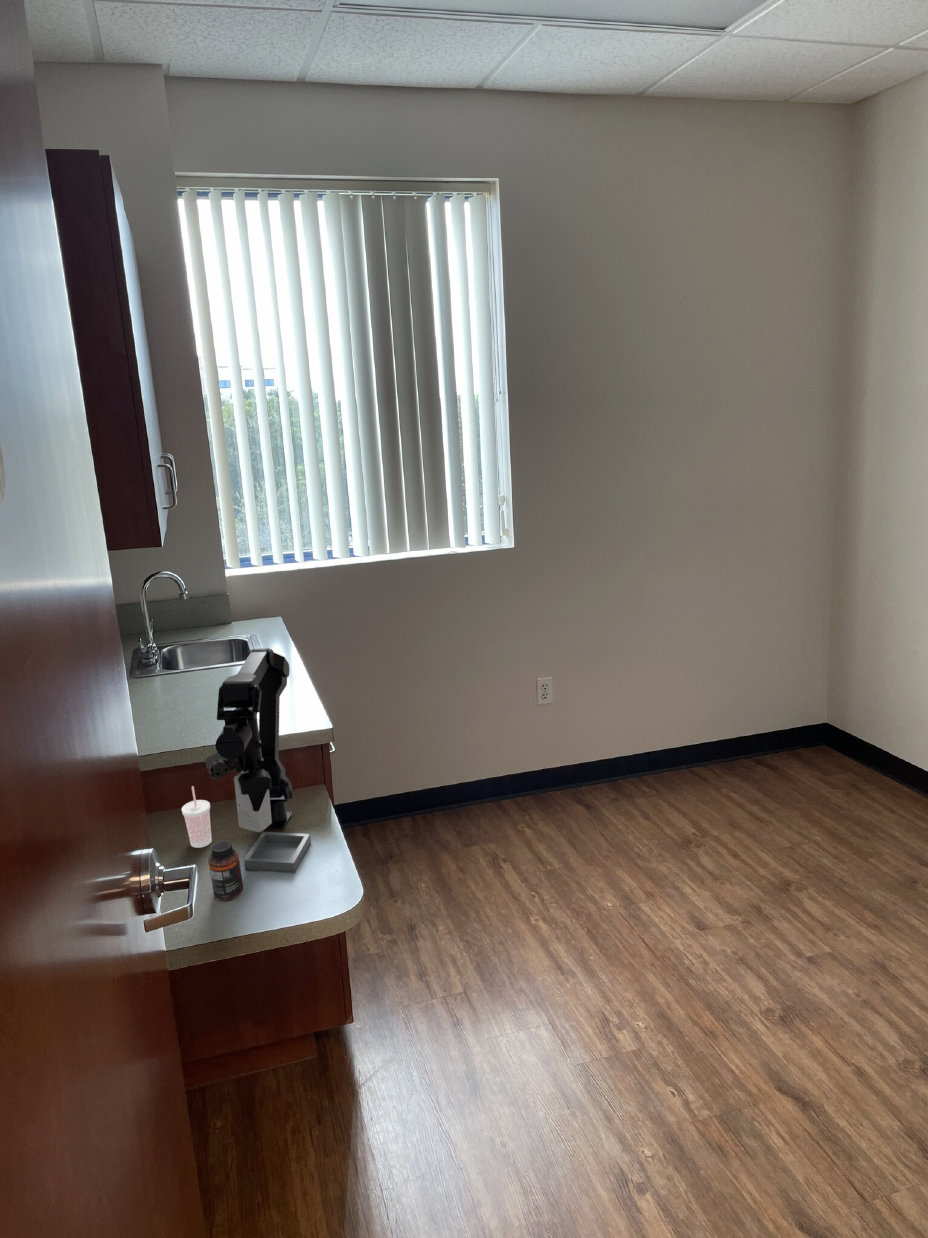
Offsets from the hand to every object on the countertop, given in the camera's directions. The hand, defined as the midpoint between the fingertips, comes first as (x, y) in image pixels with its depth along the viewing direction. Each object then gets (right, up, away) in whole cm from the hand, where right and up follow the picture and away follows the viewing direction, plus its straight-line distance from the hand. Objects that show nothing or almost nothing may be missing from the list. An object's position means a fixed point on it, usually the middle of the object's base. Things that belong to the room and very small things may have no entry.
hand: (253, 802), depth 182 cm
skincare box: (0, -5, +2) cm, 6 cm away
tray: (+5, -13, +3) cm, 14 cm away
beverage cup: (-14, -11, +10) cm, 21 cm away
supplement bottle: (-3, -17, -8) cm, 19 cm away
